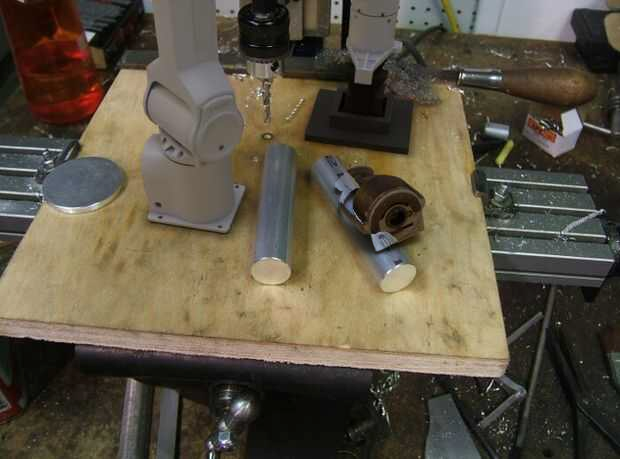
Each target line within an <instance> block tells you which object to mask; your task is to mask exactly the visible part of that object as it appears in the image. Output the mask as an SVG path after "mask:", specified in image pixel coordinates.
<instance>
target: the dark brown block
mask: <svg viewBox="0 0 620 459" xmlns="http://www.w3.org/2000/svg"><path fill="white" fill-rule="evenodd" d="M346 88H347V91H346V95H345V105H344V113H351V114H354V113H353V108H352V100H351V93H350V88H349V85H348V84H347V86H346ZM385 89H386V83H383V84H382V86H381V87H380V88H379V90H378V92H377V94H376V97H375V99H374V103H373V106H372V108H371V111H370V113H369V115H366V116H373V117H381V111H382V104H383V98H384V93H385V92H386V91H385ZM358 115H361V114H358Z"/></svg>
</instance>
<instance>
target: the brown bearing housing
mask: <svg viewBox="0 0 620 459" xmlns="http://www.w3.org/2000/svg"><path fill="white" fill-rule="evenodd" d="M346 170H347V172H348V173H349V174H350V175H351V176H352V177H353V178H354V179H355V181H356V182H357V183H358V184H359V186H360V188H358V189H357V190H356V192H355V194H354V197H353V200H352V211H353V210H354V212H355V213H356V215H357V216H358V218H359V219H360V220H361V222H362V223H363V224H362V223H361V222H360V221H359V220H358V219H357V218H356V217H355V215H354V212H351V211H350V210H349V209H348V207H346V206H345V204H342V202H341V203H339V202H338V205H339V204H340V207H339V209H340V208H341V209H340V211H341V210H342V211H341V213H342V214H343V213H344V214H345V215H344V214H343V215H344V216H345V217H346V218H347V219H348V220H349V221H350V222H351V223H352V225H354V227H356V228H357V230H358V231H359V232H360V233H361V234H364V235H370V234H376V233H378V232H382V231H383V232H384V231H385V232H388V233H390V234H391V235H392V236H394V237H395V238H396V239H397V240H398V241H399V242H398V243H400V242H402V241H404V240H406V239H409V238H411V237H413V236H415V235H417V234H419V233H422V232H423V231H425V229H426V227H425V221H424V215H423V208H425V207H426V198H425V197H424V195H423V194H422V193H420V191H418V190H417V189H416V188H414V187H413V186H412V185H410V184H409V183H408V182H406V181H405V180H404V179H403V178H402V177H399V176H396V175H391V174H384V173H383V174H382V173H381V174H375V170H374V169H373V168H372V167H370V166H365V165H358V166H352V167H350V168H348V169H346Z"/></svg>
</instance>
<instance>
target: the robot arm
mask: <svg viewBox="0 0 620 459" xmlns="http://www.w3.org/2000/svg"><path fill="white" fill-rule="evenodd" d="M400 3H401V0H351V3H350V4H351V6H350V15H349V28H348V36H347V37H346V41H345V42H346V43H345V46H346V49H347V51H348V53H349V56H350V58H351V60H352V62H349V61H344V64H343V68H342V69H343V70H342V73H343V77H344V79H345V80H346V83H347V86H348V85H349V88H350V93H351V100H352V108H353V113H354V114H361V115H369V113H370V111H371V108H372V106H373V103H374V99H375V97H376V94H377V92H378V90H379V88H380V87H381V86H382V84H385V82H386V81H387V79H388V77H389V71H390V70H389V69H383V68H384V66H385V64H386V63H387V61H388V60H389V58H390V57H391V56H392V54H400V53H402V50H403V45H404V44H403V42H402V41H401V40H395V36H396V28H397V21H398V15H399V9H400ZM151 6H152V12H153V13H152V14H153V21H154V27H155V28H154V29H155V34H156V35H155V36H156V44H157V48H158V49H157V50H158V52H157V53H158V57H157V58H156V59H154V60H153V61H151V62H150V63H149V64H148V65H147V66H146V68H145V71H146V86H145V90H144V93H143V98H142V107H143V112H144V114H145V116H146V118H147V119H148V120H149V121H150V122H151V123H152V124H154V125H155V126H157V127H158V128H157V129H158V132H159V133H152V134H150V136H148V137H147V139H146V141H145V143H144V145H143V149H142V152H141V159H140V173H141V178H142V183H143V187H144V192H145V196H146V201H147V205H148V209H149V213H148V214H147V220H148V221H149V222H155V223H159V224H166V225H172V226H178V227H185V228H191V229H197V230H202V231H203V230H204V231H210V232H215V233H223V234H226V233H229V232H230V228H231V226H232V224H233V222H234V219H235V217H236V215H237V211H238V210H239V207H240V205H241V202H242V199H243V197H244V195H245V193H246V186H245V185H243V184H237V183H235V181H234V180H235V179H234V169H233V168H234V167H233V157H232V156H233V155H232V153H234V151H235V149H236V148H237V147H238V145H239V143H240V142H241V139H242V136H243V134H244V128H245V122H244V121H245V120H244V117H243V114H242V113H241V111H240V110H239V108H238V106H237V102H236V90H235V88H234V86H233V84H232V82H231V81H230V78H229V77H228V75H227V74H226V72H225V70H224V68H223V67H222V64H221V63H220V60H219V59H220V57H219V56H220V55H219V39H218V23H217V22H218V20H217V19H218V18H217V2H216V0H151Z"/></svg>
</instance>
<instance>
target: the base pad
mask: <svg viewBox="0 0 620 459" xmlns="http://www.w3.org/2000/svg"><path fill="white" fill-rule="evenodd" d="M346 91H347V87H337V89H336V90H335V89H327V88H319V89H318V91H317V92H318V93H317V95H316V97H315V101H314V104H313V107H312V111H311V112H310V116H309V119H308V123H307V126H306V128H305V131H304V141H307V142H315V143H323V144H329V145H330V144H331V145H336V146H337V145H338V146H344V147H352V148H358V149H366V150H370V151H371V150H372V151H379V152H386V153H393V154H401V155H408V154H409V151H410V142H411V141H410V140H411V134H412V133H411V130H412V122H413V110H414V100H410V99H404V98H396V97H395V94H393V93H385V92H384V98H383V104H382V111H381V117H373V116H366V115H358V114H351V113H344V105H345V95H346Z"/></svg>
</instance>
